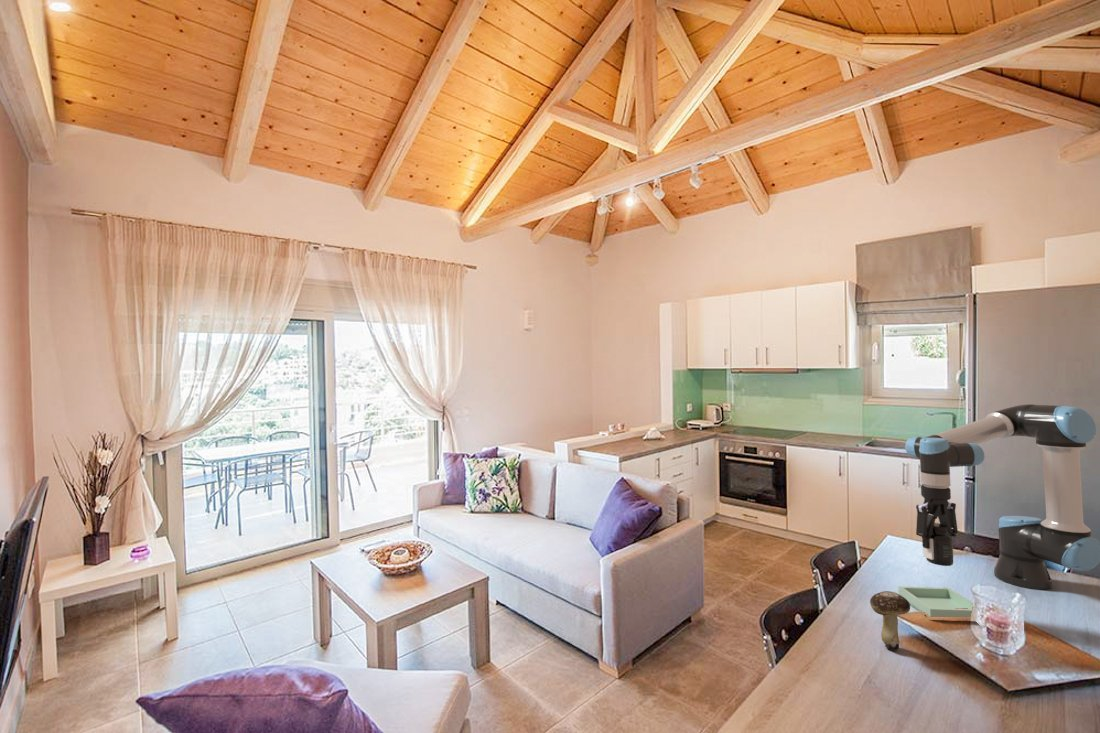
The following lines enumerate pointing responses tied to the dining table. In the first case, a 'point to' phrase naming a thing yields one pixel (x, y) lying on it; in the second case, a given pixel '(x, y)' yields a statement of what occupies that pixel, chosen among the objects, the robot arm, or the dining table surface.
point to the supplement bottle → (942, 546)
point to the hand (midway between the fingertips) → (937, 556)
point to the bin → (937, 601)
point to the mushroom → (890, 615)
